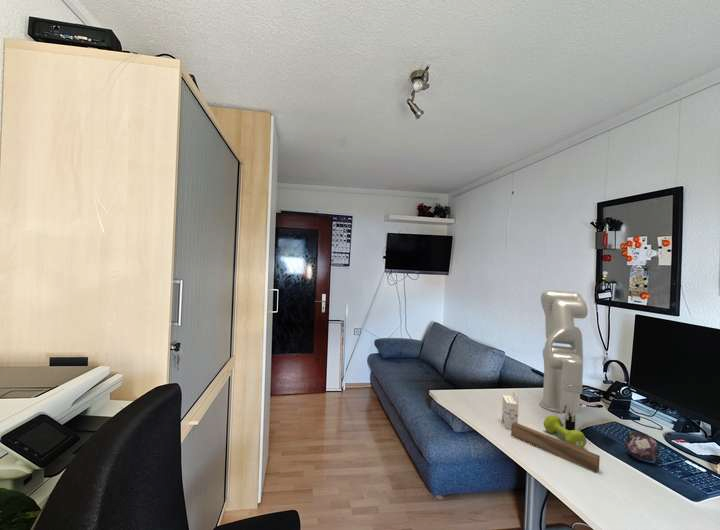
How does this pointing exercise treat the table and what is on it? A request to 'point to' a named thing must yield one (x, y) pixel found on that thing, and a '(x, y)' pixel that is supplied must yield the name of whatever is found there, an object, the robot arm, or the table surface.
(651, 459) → the mineral specimen
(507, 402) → the ink cartridge box
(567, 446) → the walnut board
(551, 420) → the dumbbell
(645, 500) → the table surface
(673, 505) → the table surface
